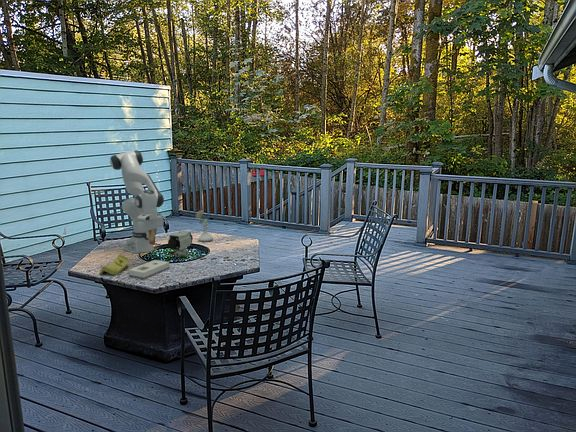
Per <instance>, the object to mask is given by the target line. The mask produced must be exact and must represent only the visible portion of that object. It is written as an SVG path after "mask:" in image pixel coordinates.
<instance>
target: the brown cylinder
mask: <svg viewBox="0 0 576 432" xmlns="http://www.w3.org/2000/svg"><path fill="white" fill-rule="evenodd" d="M149 234H150V237H149V244H152V245H155V244H156V235H155V229H152V230H149Z"/></svg>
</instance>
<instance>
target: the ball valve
mask: <svg viewBox="0 0 576 432" xmlns="http://www.w3.org/2000/svg"><path fill="white" fill-rule="evenodd" d="M192 244H193V235H192V233H191V231H186V230H185V231H184V230H182V231H181V230H179V231H178V232H175V233H173V234H170V235H169V239H168V241H167V245H168V247H169V249H170V250H175V252H174V256H175V257H176V258H182V257H188V255H189V250H188V249H187V248H188V247H190V246H192Z"/></svg>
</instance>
